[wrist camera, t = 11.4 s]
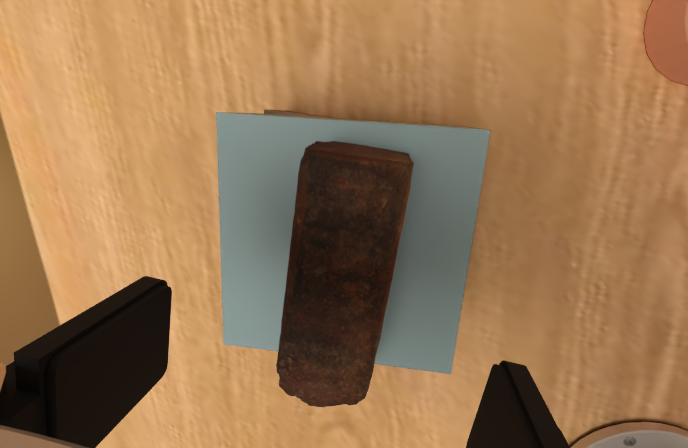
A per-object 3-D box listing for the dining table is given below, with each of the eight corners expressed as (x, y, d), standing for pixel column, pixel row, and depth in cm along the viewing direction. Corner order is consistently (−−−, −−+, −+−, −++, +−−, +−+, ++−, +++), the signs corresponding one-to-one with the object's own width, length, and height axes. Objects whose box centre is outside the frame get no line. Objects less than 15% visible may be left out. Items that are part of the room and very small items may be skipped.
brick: (322, 137, 17) (295, 145, 12) (411, 151, 17) (417, 165, 12) (295, 342, 20) (266, 407, 15) (370, 357, 20) (362, 429, 15)
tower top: (468, 127, 21) (490, 130, 16) (439, 322, 24) (450, 374, 19) (254, 113, 22) (216, 112, 17) (255, 301, 25) (223, 344, 20)
